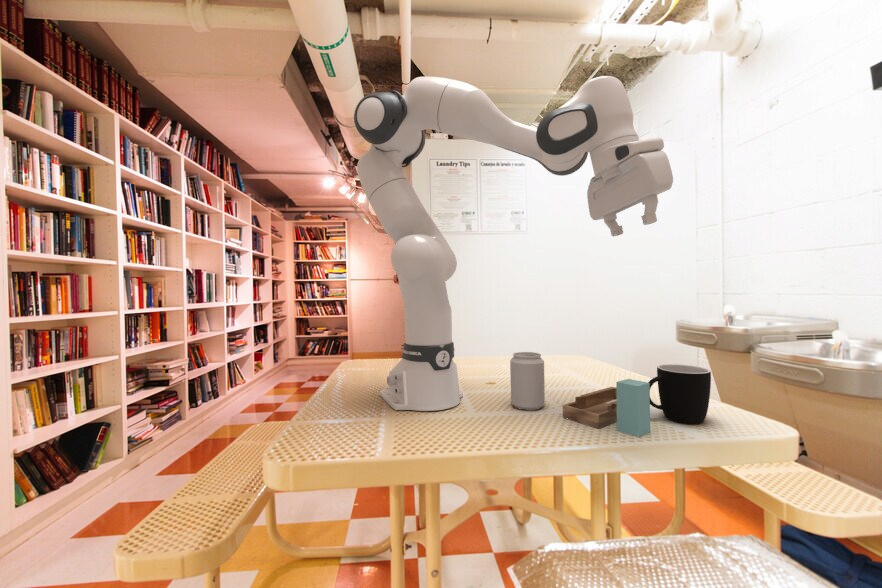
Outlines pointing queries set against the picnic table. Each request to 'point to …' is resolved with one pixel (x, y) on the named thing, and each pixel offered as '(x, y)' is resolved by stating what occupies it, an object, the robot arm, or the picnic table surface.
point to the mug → (683, 392)
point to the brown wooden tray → (594, 408)
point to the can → (527, 380)
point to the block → (633, 407)
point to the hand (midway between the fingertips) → (633, 229)
